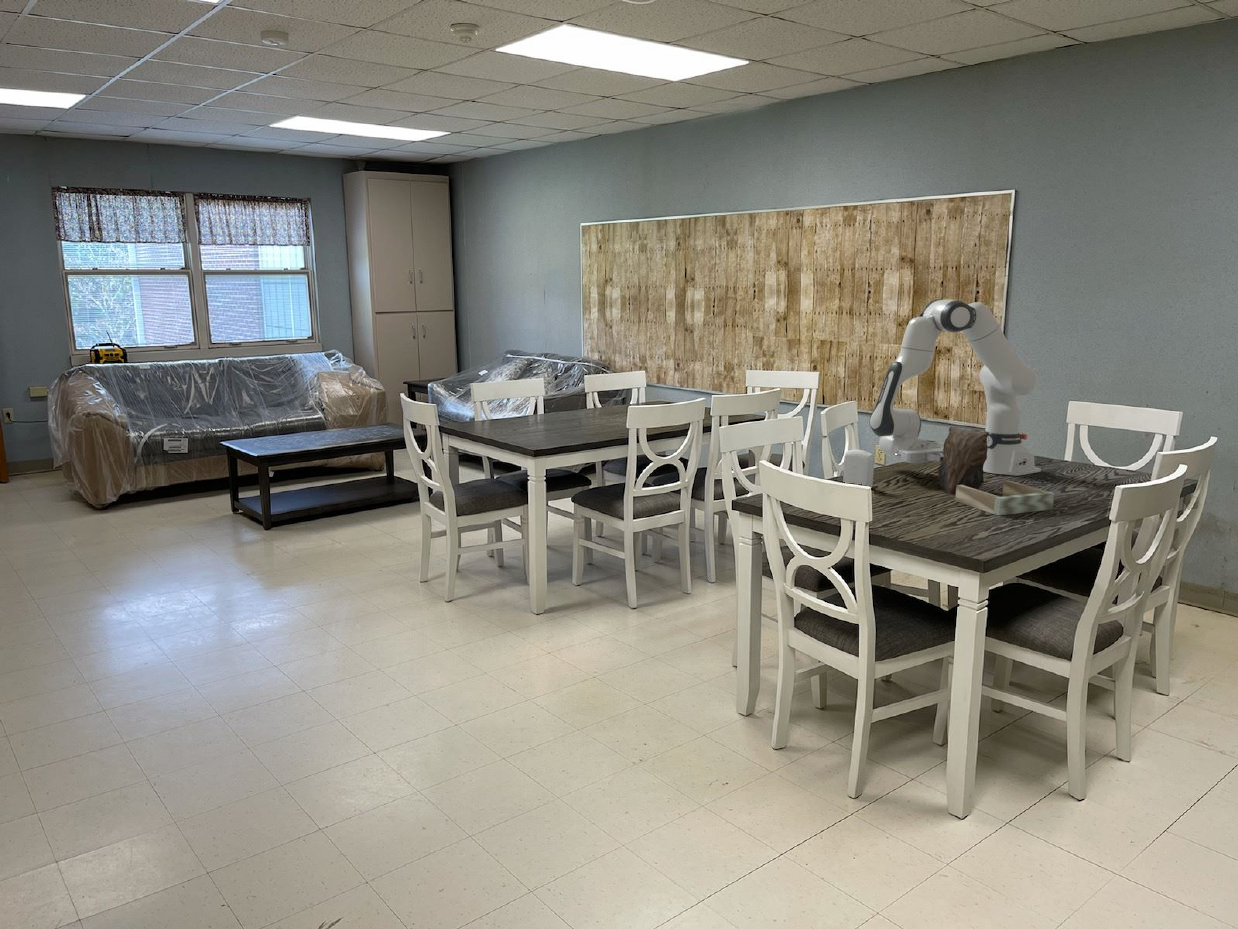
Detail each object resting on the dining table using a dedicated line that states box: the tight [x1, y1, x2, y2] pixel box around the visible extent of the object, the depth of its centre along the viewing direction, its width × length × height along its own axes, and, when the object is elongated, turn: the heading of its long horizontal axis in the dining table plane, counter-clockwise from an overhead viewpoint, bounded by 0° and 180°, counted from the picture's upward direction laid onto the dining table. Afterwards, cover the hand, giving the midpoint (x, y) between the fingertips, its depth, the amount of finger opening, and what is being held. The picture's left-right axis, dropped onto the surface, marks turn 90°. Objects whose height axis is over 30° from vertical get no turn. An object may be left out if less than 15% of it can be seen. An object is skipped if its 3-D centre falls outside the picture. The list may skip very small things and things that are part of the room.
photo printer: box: [842, 449, 875, 488], centre depth 295 cm, size 10×4×12 cm, turn 39°
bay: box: [954, 480, 1055, 516], centre depth 274 cm, size 21×18×5 cm
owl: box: [937, 426, 988, 495], centre depth 292 cm, size 13×13×20 cm
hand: (942, 459), depth 298 cm, fingers closed
